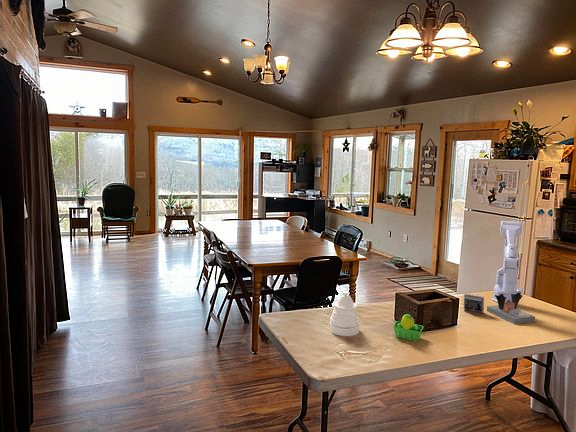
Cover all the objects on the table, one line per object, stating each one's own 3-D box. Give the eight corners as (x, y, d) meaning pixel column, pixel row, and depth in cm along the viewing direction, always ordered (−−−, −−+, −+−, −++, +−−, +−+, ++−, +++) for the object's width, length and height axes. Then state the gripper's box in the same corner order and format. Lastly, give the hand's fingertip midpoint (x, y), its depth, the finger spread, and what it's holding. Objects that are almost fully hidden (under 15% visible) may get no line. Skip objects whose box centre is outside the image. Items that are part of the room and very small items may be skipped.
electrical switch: (483, 312, 218) (484, 295, 216) (481, 316, 214) (483, 298, 212) (464, 308, 223) (464, 291, 221) (461, 312, 219) (462, 295, 217)
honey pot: (358, 337, 186) (360, 296, 183) (328, 334, 188) (329, 294, 186) (359, 326, 198) (361, 287, 196) (331, 323, 201) (332, 285, 198)
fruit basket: (423, 337, 187) (425, 311, 186) (418, 344, 179) (419, 318, 178) (397, 331, 193) (398, 306, 191) (391, 338, 185) (392, 312, 184)
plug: (500, 312, 217) (501, 299, 216) (507, 312, 218) (508, 298, 217) (507, 315, 213) (508, 301, 212) (513, 315, 214) (515, 301, 213)
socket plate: (486, 310, 221) (487, 306, 220) (506, 309, 224) (506, 304, 223) (513, 324, 203) (514, 318, 203) (534, 321, 207) (535, 316, 206)
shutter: (508, 313, 210) (509, 309, 210) (519, 312, 212) (520, 307, 212) (519, 318, 204) (519, 313, 204) (530, 317, 206) (530, 312, 205)
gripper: (503, 284, 208) (501, 312, 209) (528, 283, 211) (525, 310, 213) (492, 280, 214) (490, 307, 216) (517, 279, 218) (514, 305, 220)
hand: (507, 308), depth 215 cm, fingers open, 7 cm apart
